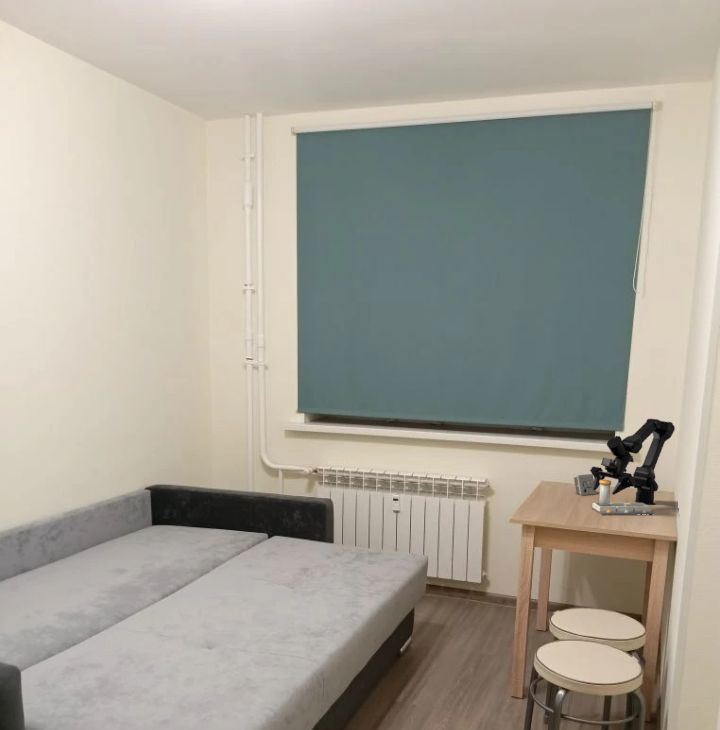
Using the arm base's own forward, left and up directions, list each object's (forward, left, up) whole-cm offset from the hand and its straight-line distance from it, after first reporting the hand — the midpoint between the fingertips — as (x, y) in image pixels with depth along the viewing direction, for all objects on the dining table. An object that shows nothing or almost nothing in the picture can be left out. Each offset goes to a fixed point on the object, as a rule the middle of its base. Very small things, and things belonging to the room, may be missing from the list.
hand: (603, 491), depth 275 cm
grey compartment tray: (-8, +1, -8) cm, 12 cm away
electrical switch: (-6, -32, -9) cm, 34 cm away
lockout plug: (-1, 0, -7) cm, 8 cm away
